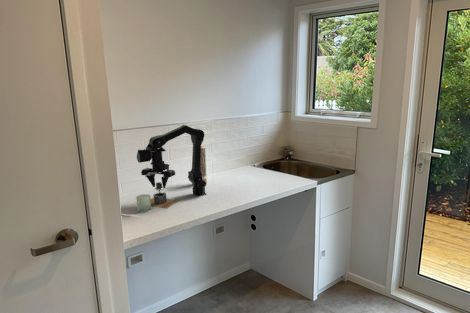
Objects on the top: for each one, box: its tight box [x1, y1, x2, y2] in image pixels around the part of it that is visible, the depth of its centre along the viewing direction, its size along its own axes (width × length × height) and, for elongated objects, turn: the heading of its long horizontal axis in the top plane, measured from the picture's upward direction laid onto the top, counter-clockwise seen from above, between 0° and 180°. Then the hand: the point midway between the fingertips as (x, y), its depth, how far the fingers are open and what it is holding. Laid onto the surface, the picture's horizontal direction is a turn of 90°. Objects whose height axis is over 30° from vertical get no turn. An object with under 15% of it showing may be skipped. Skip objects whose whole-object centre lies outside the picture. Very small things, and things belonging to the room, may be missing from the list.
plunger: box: [154, 181, 164, 195], centre depth 199 cm, size 4×4×7 cm
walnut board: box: [150, 197, 182, 209], centre depth 200 cm, size 18×14×1 cm
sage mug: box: [135, 193, 152, 213], centre depth 189 cm, size 7×9×8 cm
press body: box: [152, 192, 168, 205], centre depth 201 cm, size 7×8×5 cm
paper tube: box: [200, 145, 208, 185], centre depth 234 cm, size 7×7×25 cm
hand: (159, 187), depth 199 cm, fingers open, 6 cm apart
